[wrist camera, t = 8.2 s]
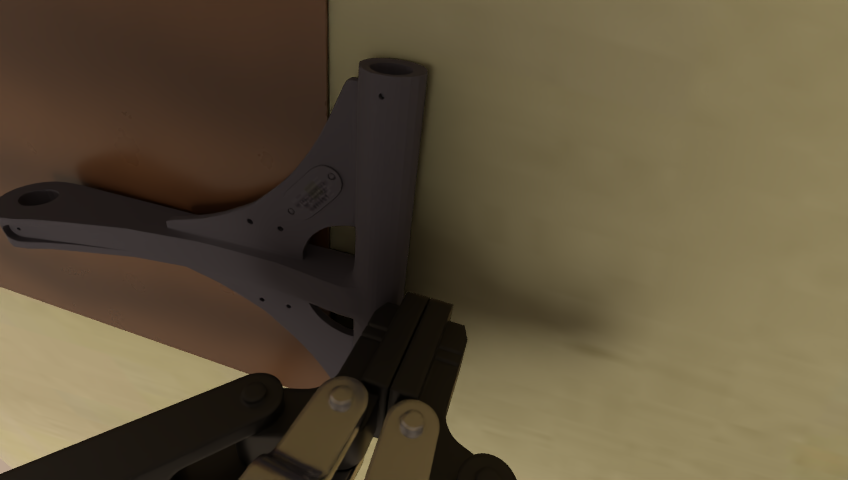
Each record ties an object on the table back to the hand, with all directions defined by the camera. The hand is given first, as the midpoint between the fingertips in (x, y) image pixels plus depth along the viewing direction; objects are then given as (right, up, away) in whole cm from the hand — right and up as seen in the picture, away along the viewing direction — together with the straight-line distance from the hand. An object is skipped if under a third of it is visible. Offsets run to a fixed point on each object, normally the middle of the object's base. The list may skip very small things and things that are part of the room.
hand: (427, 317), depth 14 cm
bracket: (-8, +3, +2) cm, 8 cm away
